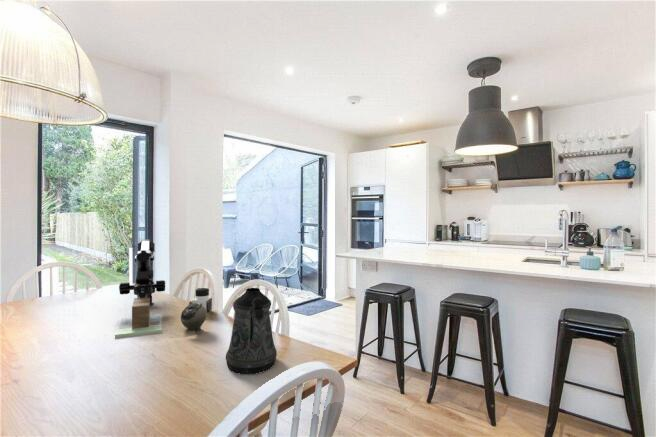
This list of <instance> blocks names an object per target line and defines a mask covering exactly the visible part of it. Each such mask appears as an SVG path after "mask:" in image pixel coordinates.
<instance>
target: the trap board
mask: <svg viewBox="0 0 656 437" xmlns="http://www.w3.org/2000/svg"><path fill="white" fill-rule="evenodd" d="M153 322H158V324H152V325H151V323H153ZM125 325H130V327H127V328H126V327H124V328H122V327H123V326H125ZM160 333H161V334H162V333H163V314H162V313H158V314H157V313H156V314H150V318H149V327H144V328H135V329H132V316H130V317H129V316H128V317H121V319H120V322H119V325H118V327H117V331H116V333H115V334H114V338H115V339H120V338H127V337H136V336H145V335H153V334H160Z"/></svg>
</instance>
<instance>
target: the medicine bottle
mask: <svg viewBox="0 0 656 437" xmlns="http://www.w3.org/2000/svg"><path fill="white" fill-rule="evenodd" d="M191 302H192V303H199V304H202V305H203V306H204V307H205V308H206V310H207V315H209V314H210V313H211V312H212V310H213V309H212V308H213V297H212V296H210V289H209V288H207V287H198V288H196V289H195V298H193V299H192V300H191Z"/></svg>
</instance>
